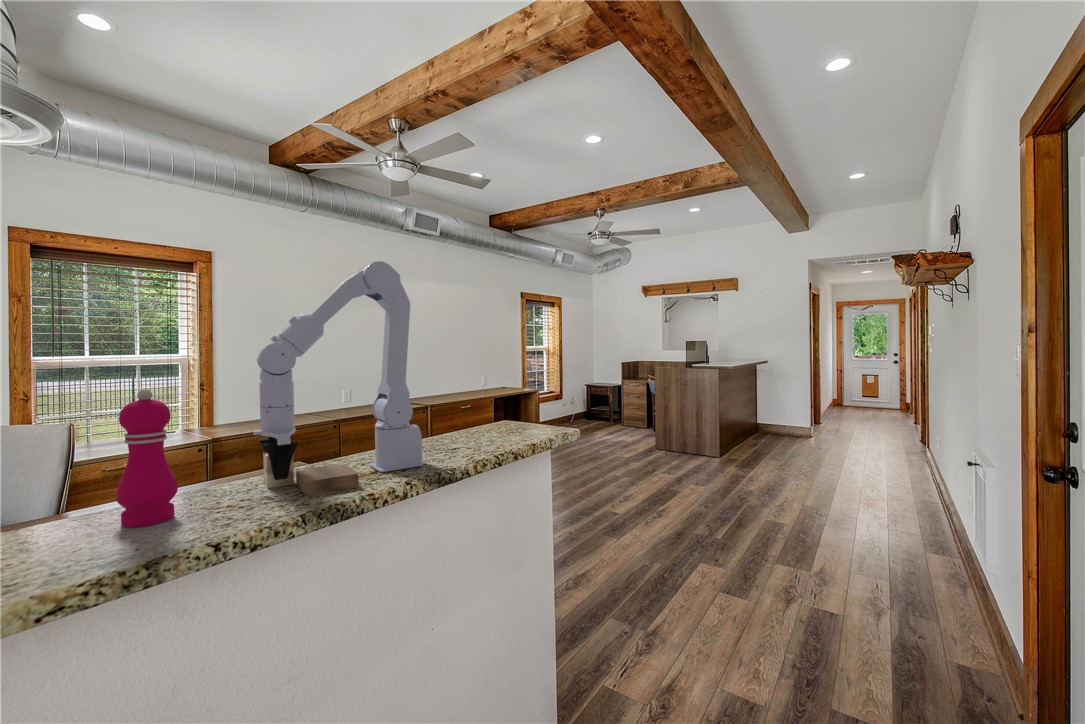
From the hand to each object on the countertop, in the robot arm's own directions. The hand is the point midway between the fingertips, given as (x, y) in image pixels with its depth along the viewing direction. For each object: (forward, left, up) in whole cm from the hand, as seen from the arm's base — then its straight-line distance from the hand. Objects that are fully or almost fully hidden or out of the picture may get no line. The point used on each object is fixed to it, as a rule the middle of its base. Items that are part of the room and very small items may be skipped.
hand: (278, 476), depth 92 cm
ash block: (0, 0, -1) cm, 1 cm away
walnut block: (-7, +8, -2) cm, 10 cm away
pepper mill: (+19, +10, -2) cm, 22 cm away
